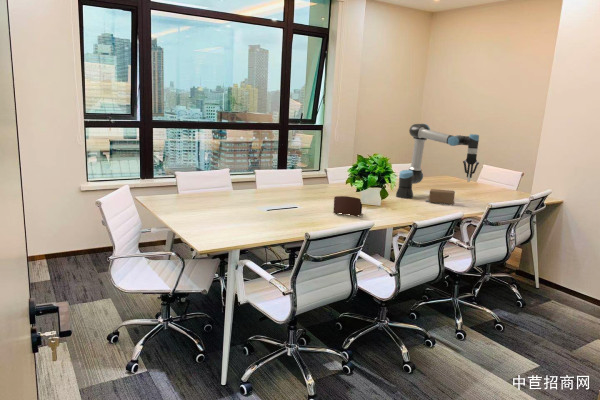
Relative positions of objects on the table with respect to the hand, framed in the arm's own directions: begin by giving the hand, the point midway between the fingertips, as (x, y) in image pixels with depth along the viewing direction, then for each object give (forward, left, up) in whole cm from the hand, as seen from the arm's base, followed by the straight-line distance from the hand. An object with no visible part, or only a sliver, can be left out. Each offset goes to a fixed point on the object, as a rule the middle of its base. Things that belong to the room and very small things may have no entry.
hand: (468, 181), depth 384 cm
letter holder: (-65, -92, -20) cm, 114 cm away
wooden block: (-9, -5, -14) cm, 17 cm away
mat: (-21, -3, -20) cm, 29 cm away
